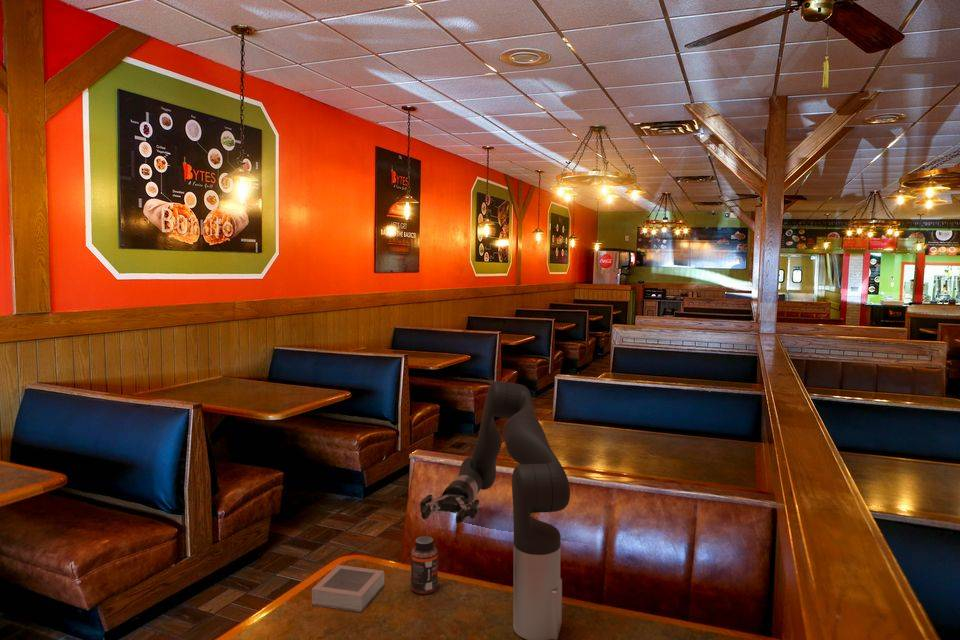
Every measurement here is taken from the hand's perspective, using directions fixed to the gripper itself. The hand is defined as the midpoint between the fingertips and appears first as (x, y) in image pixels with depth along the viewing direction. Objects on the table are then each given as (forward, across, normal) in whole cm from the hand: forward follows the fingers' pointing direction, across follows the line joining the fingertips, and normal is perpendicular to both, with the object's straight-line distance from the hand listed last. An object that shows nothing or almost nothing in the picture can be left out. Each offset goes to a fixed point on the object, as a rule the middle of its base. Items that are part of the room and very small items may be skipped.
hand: (440, 517), depth 152 cm
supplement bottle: (+12, 0, +12) cm, 17 cm away
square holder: (+19, -15, +12) cm, 26 cm away
